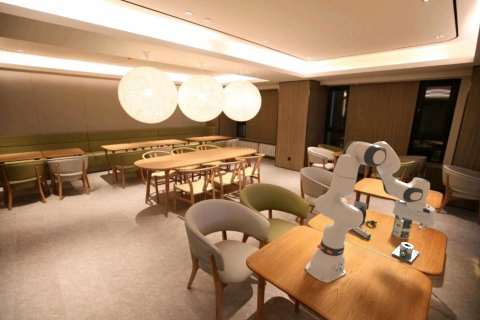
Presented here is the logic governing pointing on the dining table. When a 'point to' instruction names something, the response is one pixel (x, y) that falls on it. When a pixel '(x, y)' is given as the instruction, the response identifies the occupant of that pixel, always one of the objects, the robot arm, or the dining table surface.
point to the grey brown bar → (362, 232)
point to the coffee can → (401, 227)
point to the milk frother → (363, 211)
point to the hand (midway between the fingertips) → (410, 226)
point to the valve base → (403, 255)
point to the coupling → (406, 248)
